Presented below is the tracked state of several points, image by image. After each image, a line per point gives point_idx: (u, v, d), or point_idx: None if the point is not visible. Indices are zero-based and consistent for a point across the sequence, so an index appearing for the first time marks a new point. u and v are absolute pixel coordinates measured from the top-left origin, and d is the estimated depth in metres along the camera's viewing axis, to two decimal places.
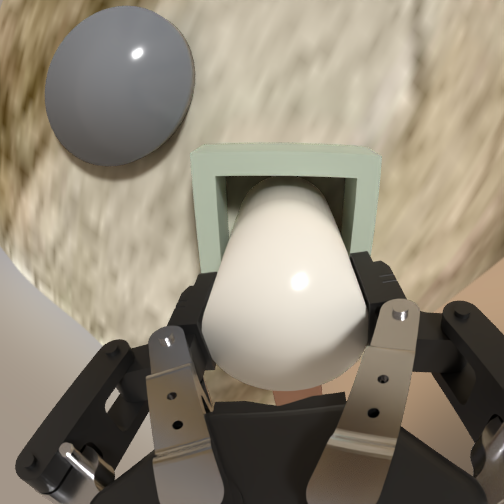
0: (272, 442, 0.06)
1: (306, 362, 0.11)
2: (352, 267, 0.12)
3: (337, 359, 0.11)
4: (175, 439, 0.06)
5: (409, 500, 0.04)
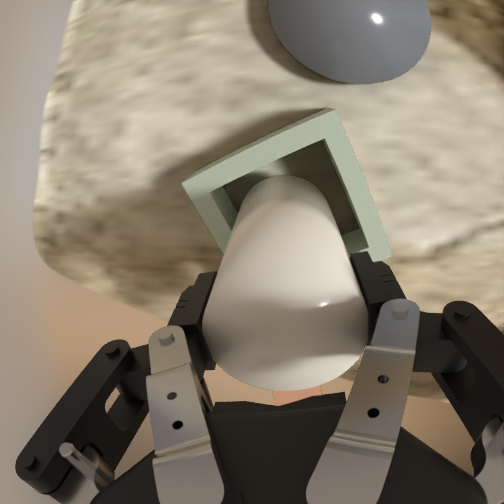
0: (272, 442, 0.06)
1: (306, 362, 0.11)
2: (352, 267, 0.12)
3: (337, 359, 0.11)
4: (175, 439, 0.06)
5: (409, 500, 0.04)
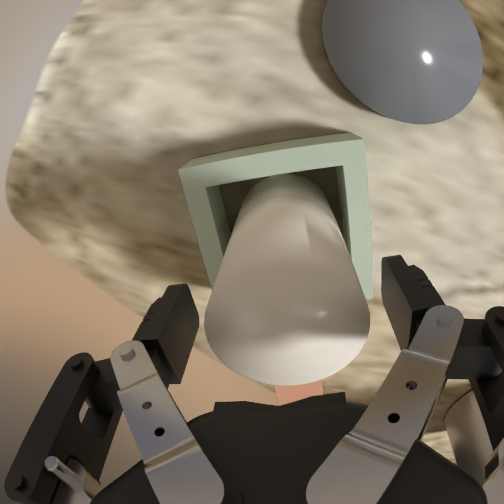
0: (272, 442, 0.06)
1: (307, 356, 0.11)
2: (352, 263, 0.12)
3: (337, 353, 0.11)
4: (160, 446, 0.06)
5: (409, 500, 0.04)
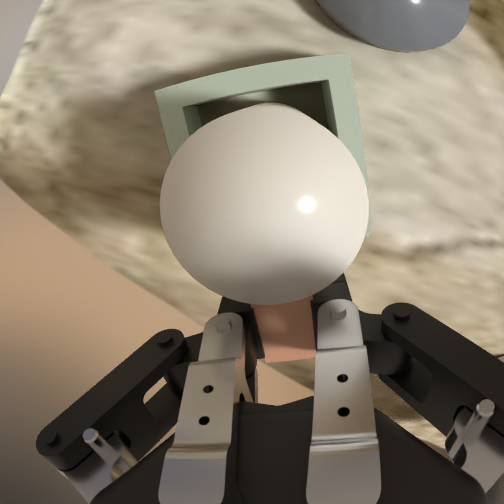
0: (272, 442, 0.06)
1: (290, 255, 0.09)
2: None
3: (330, 252, 0.09)
4: (197, 435, 0.06)
5: (409, 500, 0.04)
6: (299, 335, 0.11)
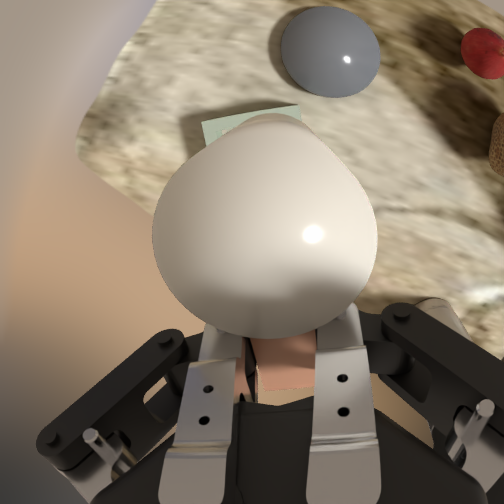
0: (272, 442, 0.06)
1: (292, 291, 0.08)
2: None
3: (335, 287, 0.08)
4: (197, 434, 0.06)
5: (409, 500, 0.04)
6: (299, 365, 0.10)
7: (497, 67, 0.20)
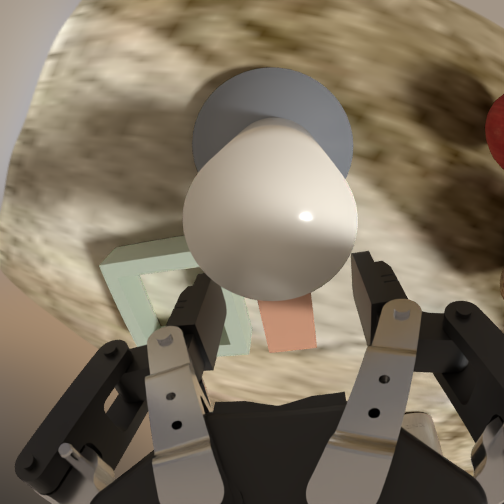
0: (272, 442, 0.06)
1: (292, 259, 0.11)
2: None
3: (325, 257, 0.10)
4: (174, 439, 0.06)
5: (409, 500, 0.04)
6: (299, 327, 0.13)
7: None
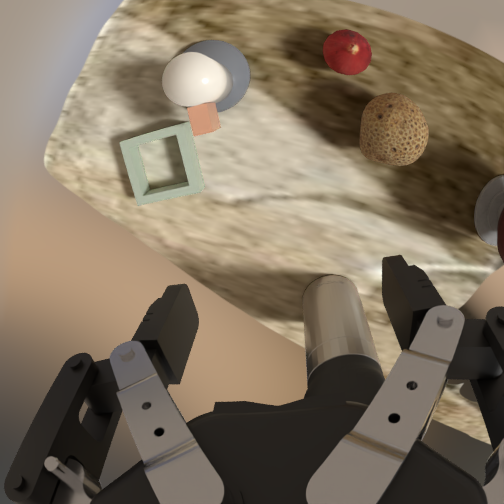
0: (272, 442, 0.06)
1: (197, 89, 0.28)
2: (218, 66, 0.29)
3: (208, 87, 0.28)
4: (160, 446, 0.06)
5: (409, 500, 0.04)
6: (204, 121, 0.30)
7: (349, 63, 0.30)
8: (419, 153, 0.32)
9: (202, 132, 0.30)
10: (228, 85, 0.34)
